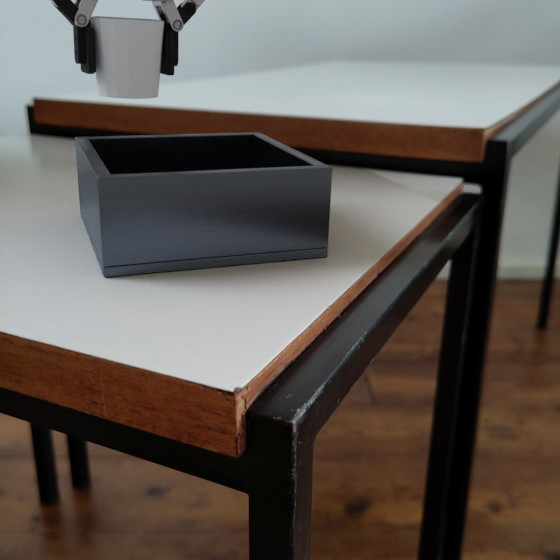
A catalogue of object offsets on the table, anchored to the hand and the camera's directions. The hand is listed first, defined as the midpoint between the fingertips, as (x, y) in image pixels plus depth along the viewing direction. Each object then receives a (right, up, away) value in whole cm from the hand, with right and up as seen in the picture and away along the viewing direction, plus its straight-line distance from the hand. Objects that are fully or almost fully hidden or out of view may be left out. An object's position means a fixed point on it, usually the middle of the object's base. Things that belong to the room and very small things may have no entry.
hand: (127, 71), depth 66 cm
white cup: (0, -2, +1) cm, 2 cm away
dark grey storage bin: (+9, -17, -19) cm, 27 cm away
